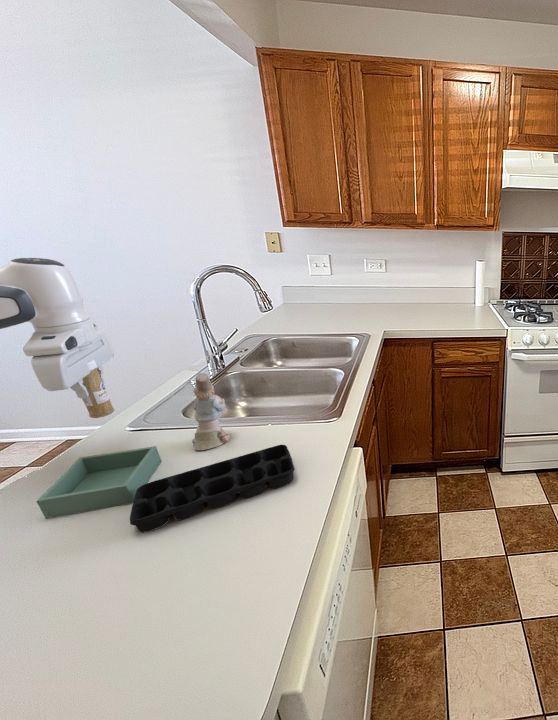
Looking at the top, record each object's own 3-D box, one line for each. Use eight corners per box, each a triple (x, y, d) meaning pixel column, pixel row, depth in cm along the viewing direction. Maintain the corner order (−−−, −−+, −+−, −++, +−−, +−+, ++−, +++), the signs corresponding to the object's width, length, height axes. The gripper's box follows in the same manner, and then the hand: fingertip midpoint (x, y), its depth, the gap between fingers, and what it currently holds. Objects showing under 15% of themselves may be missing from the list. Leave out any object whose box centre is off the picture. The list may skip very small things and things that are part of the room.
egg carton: (128, 505, 82) (121, 491, 80) (278, 445, 101) (275, 433, 100) (140, 556, 70) (133, 540, 69) (307, 477, 90) (304, 464, 88)
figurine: (226, 448, 100) (205, 377, 92) (188, 453, 98) (164, 380, 90) (237, 430, 108) (219, 362, 100) (203, 433, 106) (181, 365, 98)
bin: (45, 518, 78) (35, 501, 77) (87, 473, 91) (79, 457, 90) (133, 502, 82) (126, 485, 81) (161, 461, 95) (156, 445, 94)
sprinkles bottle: (115, 414, 94) (94, 361, 88) (89, 421, 91) (66, 367, 86) (114, 407, 97) (93, 356, 91) (89, 413, 94) (66, 361, 89)
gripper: (78, 321, 94) (99, 374, 99) (15, 352, 76) (46, 414, 82) (110, 319, 96) (129, 371, 101) (56, 348, 78) (83, 409, 83)
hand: (92, 390), depth 91 cm, fingers closed on sprinkles bottle, 4 cm apart
